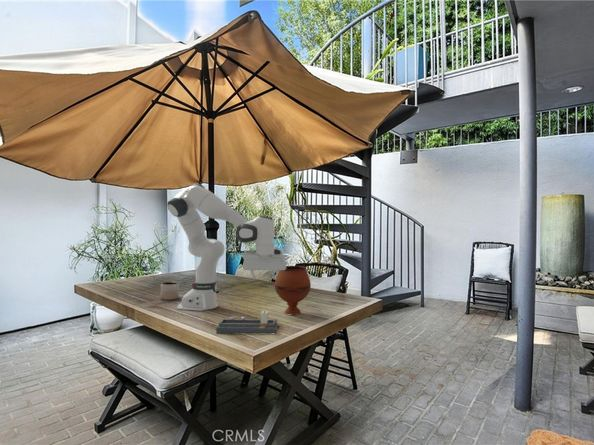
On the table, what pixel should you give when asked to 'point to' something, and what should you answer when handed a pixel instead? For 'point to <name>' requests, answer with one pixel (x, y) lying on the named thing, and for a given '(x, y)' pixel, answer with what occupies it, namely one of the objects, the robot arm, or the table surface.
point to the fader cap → (264, 317)
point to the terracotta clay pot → (292, 286)
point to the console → (245, 326)
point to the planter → (169, 290)
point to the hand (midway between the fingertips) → (264, 279)
